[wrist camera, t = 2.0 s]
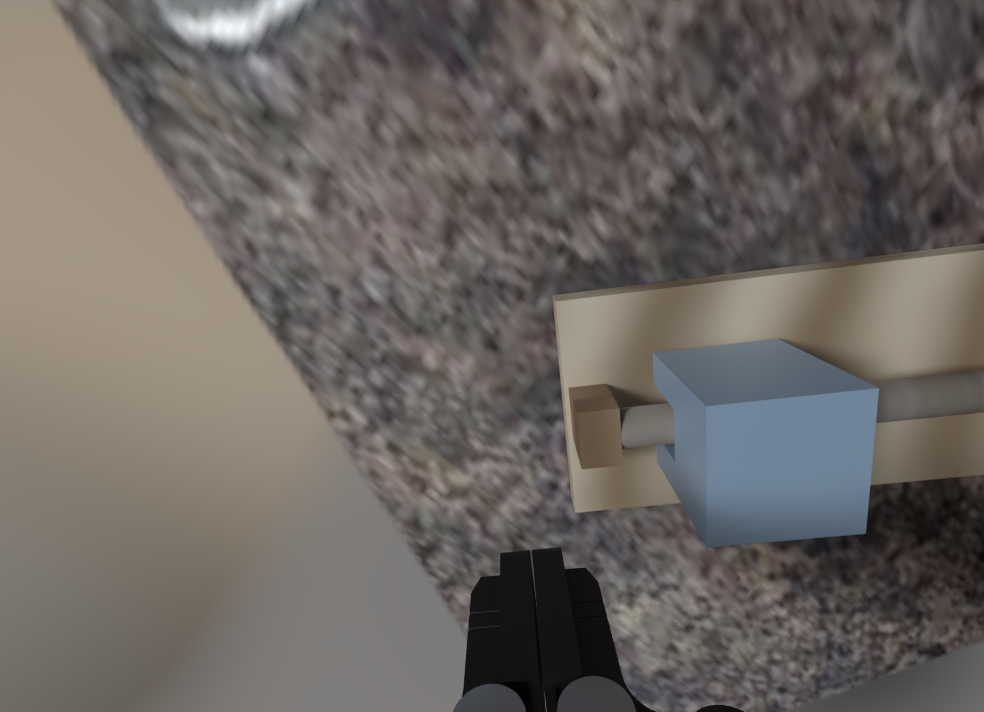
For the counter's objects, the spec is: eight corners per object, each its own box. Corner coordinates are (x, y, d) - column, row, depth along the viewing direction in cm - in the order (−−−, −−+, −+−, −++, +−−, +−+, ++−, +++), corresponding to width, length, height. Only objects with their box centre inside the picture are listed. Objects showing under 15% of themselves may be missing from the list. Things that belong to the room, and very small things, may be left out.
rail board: (1100, 229, 21) (1389, 239, 14) (1055, 448, 24) (1278, 547, 17) (552, 295, 22) (572, 334, 15) (571, 495, 25) (595, 603, 18)
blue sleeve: (778, 338, 20) (879, 388, 15) (774, 450, 22) (865, 533, 16) (652, 352, 21) (705, 406, 15) (656, 461, 22) (707, 547, 17)
